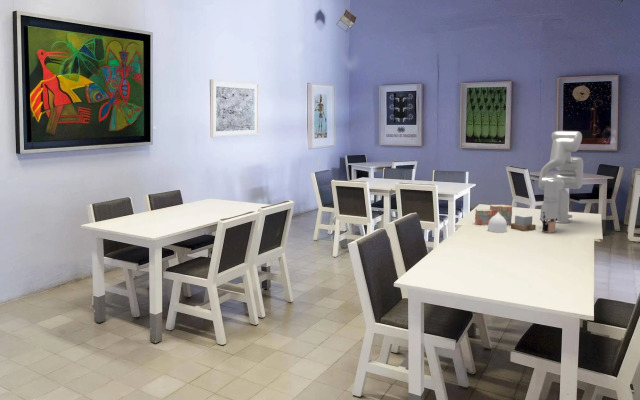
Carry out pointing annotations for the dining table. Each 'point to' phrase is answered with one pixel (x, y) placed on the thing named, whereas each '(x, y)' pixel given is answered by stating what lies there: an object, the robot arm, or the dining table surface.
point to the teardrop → (497, 224)
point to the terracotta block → (550, 227)
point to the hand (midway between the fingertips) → (548, 230)
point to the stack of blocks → (493, 214)
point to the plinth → (523, 227)
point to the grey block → (523, 220)
